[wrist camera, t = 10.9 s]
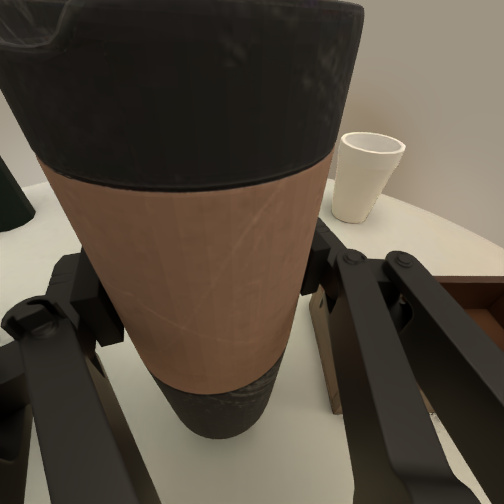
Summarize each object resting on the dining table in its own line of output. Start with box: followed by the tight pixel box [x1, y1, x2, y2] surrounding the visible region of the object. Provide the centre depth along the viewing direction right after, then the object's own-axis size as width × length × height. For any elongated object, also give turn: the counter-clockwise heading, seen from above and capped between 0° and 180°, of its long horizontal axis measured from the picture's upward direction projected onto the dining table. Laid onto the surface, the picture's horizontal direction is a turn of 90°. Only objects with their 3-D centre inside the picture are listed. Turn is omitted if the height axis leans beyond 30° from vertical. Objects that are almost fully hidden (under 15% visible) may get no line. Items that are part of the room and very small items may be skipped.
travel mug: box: [0, 0, 364, 439], centre depth 12 cm, size 8×8×20 cm
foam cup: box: [332, 132, 406, 223], centre depth 44 cm, size 10×9×13 cm
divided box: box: [309, 276, 504, 414], centre depth 26 cm, size 12×23×6 cm, turn 91°
